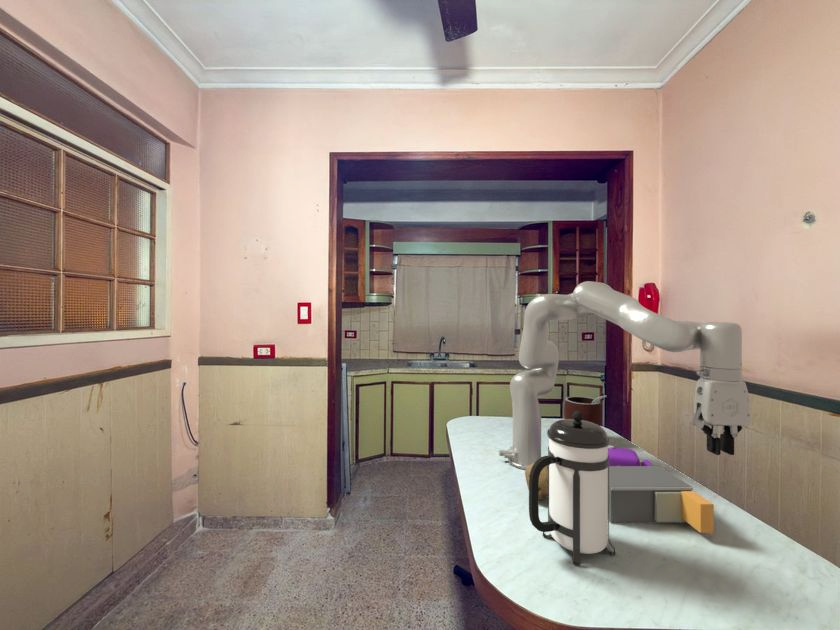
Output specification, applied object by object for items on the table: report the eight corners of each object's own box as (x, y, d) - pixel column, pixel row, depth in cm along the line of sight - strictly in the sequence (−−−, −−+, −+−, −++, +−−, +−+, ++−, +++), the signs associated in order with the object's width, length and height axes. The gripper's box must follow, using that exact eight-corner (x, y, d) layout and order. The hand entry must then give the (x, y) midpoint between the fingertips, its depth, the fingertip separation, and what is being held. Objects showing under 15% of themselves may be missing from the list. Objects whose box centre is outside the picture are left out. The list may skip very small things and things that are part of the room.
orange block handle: (674, 537, 81) (674, 504, 81) (654, 520, 88) (654, 489, 88) (713, 537, 81) (713, 504, 81) (691, 519, 88) (691, 489, 88)
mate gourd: (561, 444, 142) (561, 394, 142) (567, 434, 154) (567, 387, 154) (605, 452, 134) (605, 398, 134) (608, 441, 146) (608, 391, 145)
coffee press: (544, 517, 91) (544, 399, 91) (616, 537, 83) (616, 408, 83) (528, 558, 76) (528, 417, 76) (613, 586, 68) (613, 429, 68)
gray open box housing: (603, 524, 88) (603, 487, 88) (580, 498, 101) (580, 466, 101) (692, 523, 88) (692, 487, 88) (659, 498, 101) (659, 466, 101)
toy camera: (659, 494, 103) (659, 459, 103) (607, 489, 106) (607, 455, 106) (644, 477, 114) (644, 445, 114) (597, 473, 116) (597, 442, 116)
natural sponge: (558, 493, 103) (558, 458, 103) (560, 509, 95) (560, 471, 95) (525, 488, 106) (525, 455, 106) (524, 504, 98) (524, 467, 98)
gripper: (698, 377, 81) (698, 459, 81) (770, 377, 81) (770, 459, 81) (674, 372, 88) (674, 447, 88) (740, 372, 88) (740, 446, 88)
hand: (720, 452), depth 84 cm, fingers open, 2 cm apart
